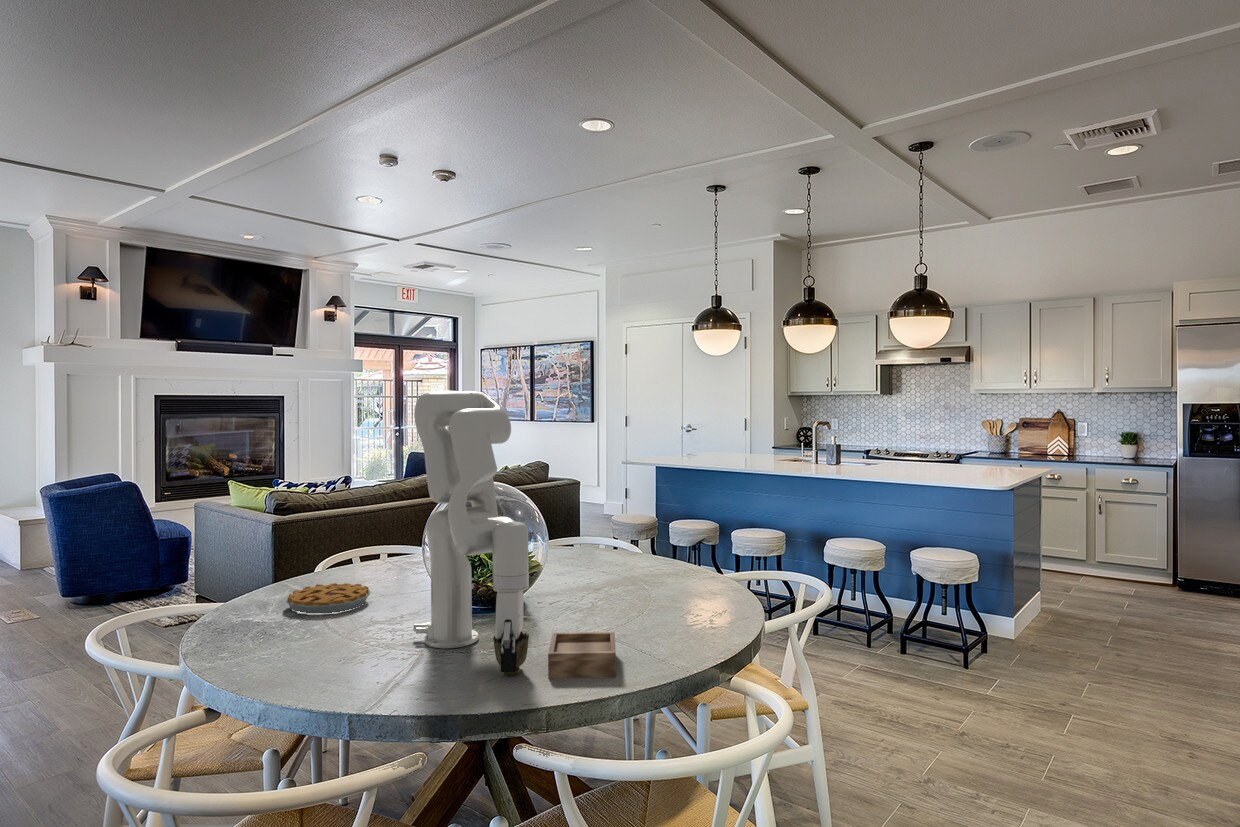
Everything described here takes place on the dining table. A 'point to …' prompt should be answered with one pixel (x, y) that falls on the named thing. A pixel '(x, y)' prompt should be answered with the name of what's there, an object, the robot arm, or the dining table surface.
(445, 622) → the robot arm
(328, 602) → the pie
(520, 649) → the cup
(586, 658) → the shallow wooden tray
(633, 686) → the dining table surface
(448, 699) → the dining table surface
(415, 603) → the dining table surface
